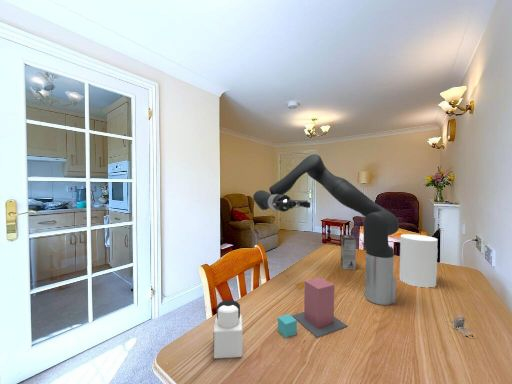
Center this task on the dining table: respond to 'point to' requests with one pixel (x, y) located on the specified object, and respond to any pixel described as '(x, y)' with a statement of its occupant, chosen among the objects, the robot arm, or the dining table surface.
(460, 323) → the strap clip
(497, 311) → the dining table surface
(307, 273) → the dining table surface
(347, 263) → the coffee box
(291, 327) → the block
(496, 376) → the dining table surface
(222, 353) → the medicine bottle
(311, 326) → the mat
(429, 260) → the canister
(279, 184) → the robot arm
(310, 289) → the tall pink pillar
